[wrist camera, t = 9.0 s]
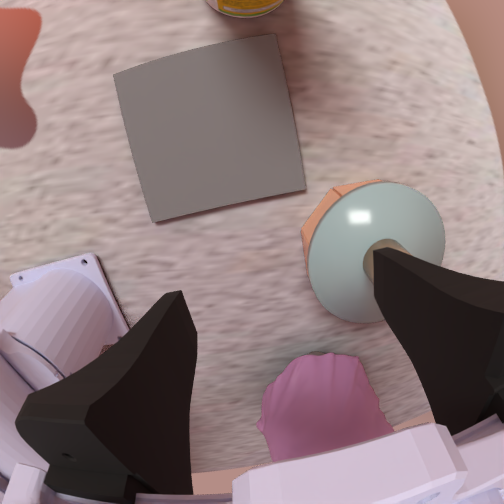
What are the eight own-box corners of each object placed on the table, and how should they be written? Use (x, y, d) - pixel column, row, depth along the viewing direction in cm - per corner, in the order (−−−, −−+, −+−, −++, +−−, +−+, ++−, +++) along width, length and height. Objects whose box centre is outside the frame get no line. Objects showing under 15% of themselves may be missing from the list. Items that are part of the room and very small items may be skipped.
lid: (320, 332, 21) (337, 378, 17) (290, 204, 17) (307, 234, 13) (438, 291, 20) (469, 327, 16) (434, 166, 16) (479, 185, 12)
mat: (153, 220, 20) (152, 222, 20) (115, 75, 16) (113, 74, 16) (304, 187, 20) (305, 189, 20) (274, 34, 16) (275, 33, 16)
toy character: (240, 340, 25) (254, 606, 7) (366, 315, 25) (475, 544, 6) (262, 423, 30) (280, 602, 12) (359, 404, 30) (413, 571, 12)
